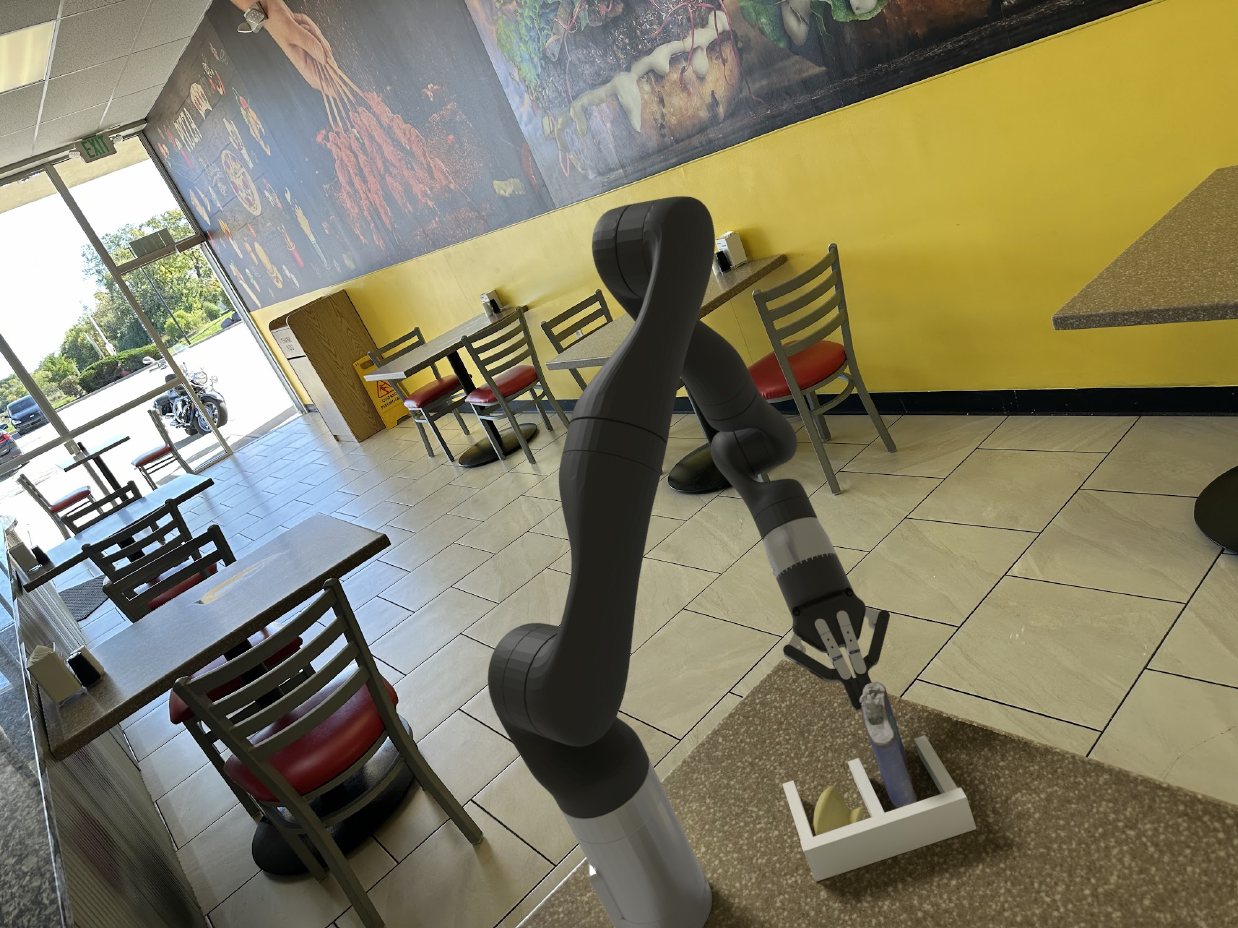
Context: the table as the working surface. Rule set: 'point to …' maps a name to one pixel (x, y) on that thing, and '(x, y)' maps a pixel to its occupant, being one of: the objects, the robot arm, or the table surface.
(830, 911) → the table surface
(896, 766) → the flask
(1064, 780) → the table surface
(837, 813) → the knob
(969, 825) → the rack
